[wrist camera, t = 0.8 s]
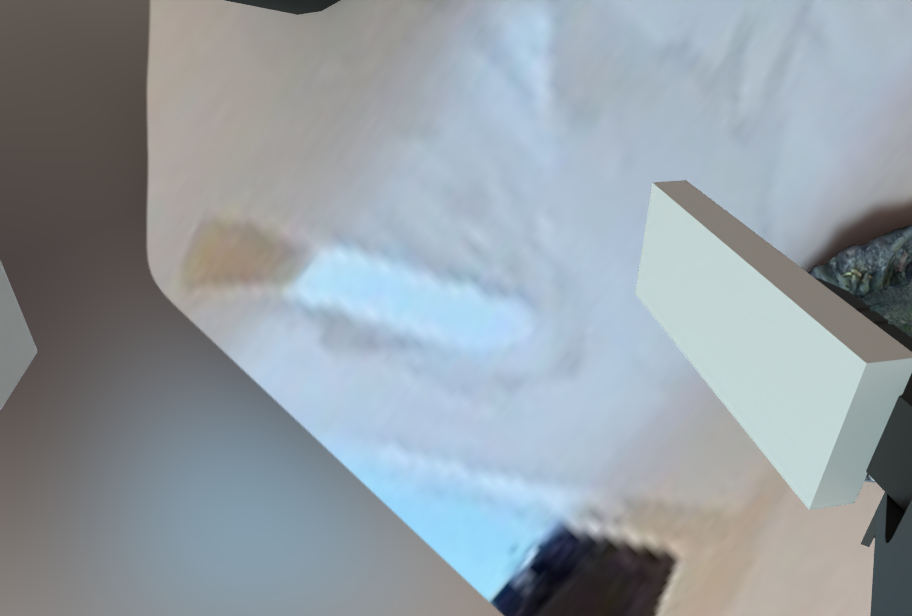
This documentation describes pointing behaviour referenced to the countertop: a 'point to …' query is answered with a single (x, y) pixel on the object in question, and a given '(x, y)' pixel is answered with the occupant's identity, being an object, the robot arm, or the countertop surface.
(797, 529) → the countertop surface
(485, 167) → the countertop surface
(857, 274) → the tree stump
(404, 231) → the countertop surface
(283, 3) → the coffee jar
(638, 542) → the countertop surface
